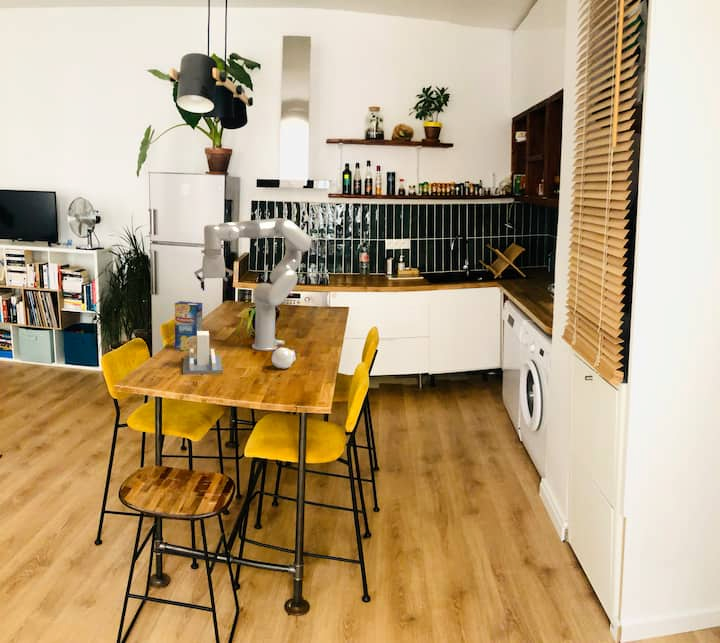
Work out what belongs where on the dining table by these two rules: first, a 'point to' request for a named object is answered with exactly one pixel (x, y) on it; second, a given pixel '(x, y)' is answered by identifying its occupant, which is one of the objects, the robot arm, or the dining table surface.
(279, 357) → the white rounded lump
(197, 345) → the carton
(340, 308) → the dining table surface
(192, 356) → the grey slotted holder base
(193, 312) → the blue food box
